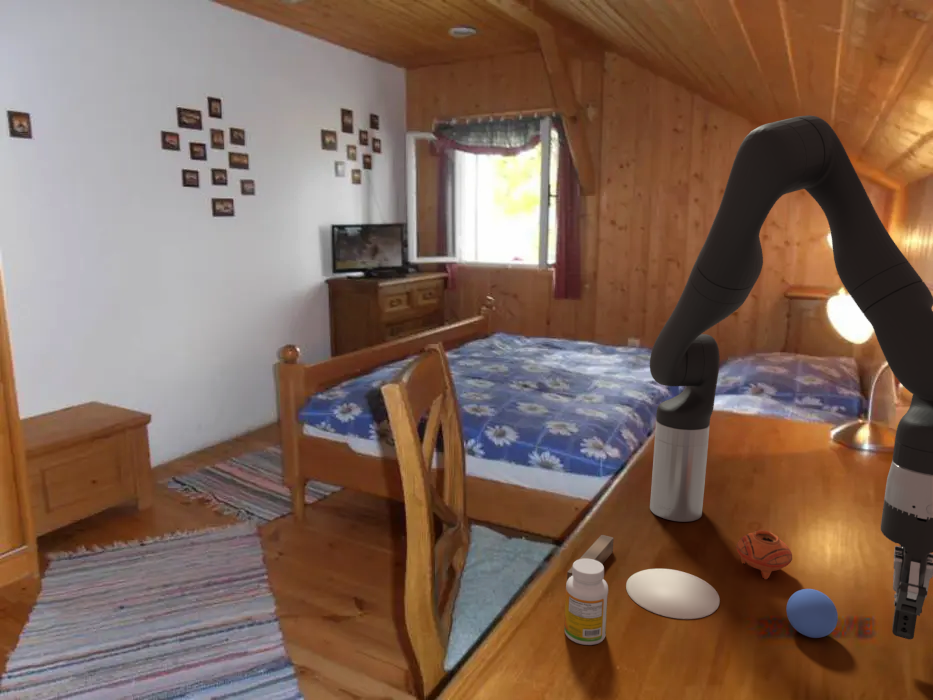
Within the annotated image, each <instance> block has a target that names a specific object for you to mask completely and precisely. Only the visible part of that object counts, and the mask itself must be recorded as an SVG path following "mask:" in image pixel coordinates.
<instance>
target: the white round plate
mask: <svg viewBox="0 0 933 700" xmlns="http://www.w3.org/2000/svg"><path fill="white" fill-rule="evenodd" d="M625 587H626V588H625V589H626V592H627V593H626V594H627V595H628V596H629V598H630V599H631V600H632V601H633V602H634V603H636V604H637V606H639V607H641V608H643V609H645V610H647V611H648V612H651V613H654V614H656V615H659V616H662V617H666V618H669V619H670V618H672V619H676V620H677V619H678V620H694V619H696V620H697V619H701V618H705V617H708V616H710V615H712V614H714V613H715V612H716V610H717V609H718V608H719V606H720V602H721V601H720V600H721V599H720V595H719V593H718V591H716V589H715V588H714V587H713V586H712V585H711V584H710V583H708V582H707V581H705V580H704V579H702V578H700V577H698V576H696V575H693V574H690V573H688V572H684V571H681V570H677V569H671V568H648V569H643V570H640V571H637V572H635V573H633V574H632V575H631V576H629V578H628V579H627V580H626V584H625Z"/></svg>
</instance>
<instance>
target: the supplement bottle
mask: <svg viewBox="0 0 933 700" xmlns="http://www.w3.org/2000/svg"><path fill="white" fill-rule="evenodd" d="M572 566H573V568H572V576H571V577H570V578H569V579H568V580H567V579H566V584H565V585H566V586H565V605H564V606H565V607H564V608H565V609H564V626H563V627H564V634H565V635H566V637H567V638H568V639H569V640H571V641H572V642H573V643H576V644H578V645H585V646H592V645H597V644H600V643H602V642H603V640H605V637H606V635H607V622H608V621H607V620H608V605H609V604H608V603H609V601H608V599H609V585H608V582H607V581H606V580H605V579H604V577H605V567H604V565H603V564H601V563H600V562H599V561H596V560H593V559H580V558H578V559H576V560H575V561H574V562H573V563H572Z"/></svg>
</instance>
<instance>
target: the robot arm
mask: <svg viewBox="0 0 933 700" xmlns="http://www.w3.org/2000/svg"><path fill="white" fill-rule="evenodd" d="M801 190H805V191H806V192H807V193H808V194H809V195H810V196H811V197H812V198H813V199H814V201H815V202H816V203H817V204H818V205H819V207H820V208H821V210H822V212H823V213H824V215H825V218H826V220H827V222H828V225H829V226H828V227H829V229H830V235H831V243H832V254H833V261H834V266H835V268H836V272H837V275H838V277H839V280H840V281H841V283H842V285H843V287H844V288H845V290H846V291H847V293H848V294H849V296H850V297H851V298H852V300H853V301H854V303H855V304H856V306H857V307H858V308H859V310H860V311H861V313H862V314H863V315H864V317H865V318H866V320H867V321H868V323H870V324H871V327H872V328H873V331H874V334H875V337H876V340H877V342H878V345H879V347H880V349H881V351H882V353H883V356H884V359H885V360H886V362H887V365H888V366H889V368H890V370H891V372H892V374H893V375H894V377H895V378H896V380H897V381H898V382H899V383H900V384H901V386H903V387H904V388H905V389H906V390H907V391H908V392H910V393H911V394H912V395H911V396H912V397H911V401H910V406H909V407H908V410H907V411H906V413H904V415H903V416H902V418H900V419H899V422H898V425H897V426H896V430H895V431H896V432H895V437H894V439H895V440H894V446H893V452H892V459H891V460H892V461H891V464H890V468H889V472H888V473H887V474H888V475H887V478H886V485H885V491H884V499H883V507H882V513H881V514H882V516H881V522H880V531H881V533H882V535H883V536H884V537H886V538H887V539H888V540H889V541H891V542H893V543H895V544H898V545H895V546H894V550H893V551H894V552H893V576H892V577H893V583H892V590H893V591H894V592H895V593H894V595H893V598H894V600H893V605H894V613H893V619H892V629H891V630H892V634H893V635H894V636H896V637H898V638H903V639H905V640H913V639H914V638H915V633H916V632H915V631H916V625H917V616H918V617H920V616H921V614H922V613H923V606H924V603H925V599H926V598H927V597H928V592H929V591H928V590H929V586H930V580H931V579H932V578H933V309H932V307H933V295H932V292H931V290H930V289H929V287H928V286H927V284H926V283H925V282H924V281H923V278H921V276H920V275H919V273H918V272H917V271H916V270H915V268H914V266H913V265H912V264H911V263H910V262H909V260H908V259H907V258H906V257H905V255H904V253H902V251H901V250H900V248H899V247H898V245H897V244H896V242H894V240H893V238H892V237H891V235H890V234H889V232H888V230H887V229H886V227H885V226H884V224H883V222H882V221H881V218H880V217H879V215H878V213H877V211H876V209H875V207H874V205H873V204H872V201H871V199H870V197H869V196H868V193H867V190H866V189H865V187H864V185H863V183H862V181H861V179H860V177H859V175H858V174H857V172H856V169H855V167H854V165H853V163H852V162H851V159H850V156H849V155H848V153H847V150H846V149H845V147H844V145H843V144H842V141H841V140H840V137H839V136H838V135H837V133H836V132H835V130H834V129H833V127H832V126H831V125H830V124H829V123H828V122H827V121H825V119H823V118H820V117H819V116H816V115H800V116H794V117H791V118H786V119H781V120H777V121H772V122H769V123H765V124H762V125H760V126H758V127H756V128H755V129H753V130H751V131H750V132H749V133H748V134H747V135H746V136H745V137H744V138H743V141H742V142H741V143H740V145H739V147H738V150H737V151H736V155H735V157H734V160H733V164H732V166H731V170H730V173H729V175H728V179H727V183H726V186H725V190H724V192H723V195H722V198H721V201H720V204H719V208H718V210H717V212H716V215H715V217H714V220H713V222H712V225H711V227H710V230H709V233H708V235H707V236H706V238H705V241H704V243H703V245H702V247H701V250H700V252H699V254H698V255H697V258H696V260H695V262H694V264H693V267H692V269H691V271H690V274H689V275H688V276H689V277H688V279H687V281H686V284H685V286H684V288H683V291H682V293H681V295H680V297H679V299H678V301H677V302H676V306H675V307H674V309H673V311H672V312H671V315H670V316H669V318H668V319H667V321H666V322H665V324H664V325H663V327H662V329H661V330H660V332H659V334H658V336H657V338H656V339H655V341H654V344H653V347H652V349H651V352H650V353H651V354H650V357H649V371H650V374H651V377H652V379H653V380H654V381H655V382H656V383H657V384H659V385H661V386H664V387H665V386H666V387H685V388H684V389H683V391H681V392H680V393H679V394H677V395H676V396H674V397H671V398H669V399H666V400H664V401H662V402H660V403H659V404H658V406H657V408H656V415H655V417H656V418H655V431H654V446H653V460H652V461H653V462H652V473H651V474H652V475H651V488H650V490H651V491H650V501H649V509H650V511H651V512H652V513H653V514H654V515H655V516H657V517H659V518H663V519H665V520H669V521H673V522H681V523H682V522H684V523H685V522H686V523H687V522H695V521H697V520H699V519H701V517H702V516H703V505H704V504H703V503H704V495H705V494H704V493H705V482H706V474H707V473H706V471H707V459H708V449H709V437H710V436H709V435H710V423H711V416H712V414H713V411H714V407H715V398H716V392H717V391H716V390H717V383H718V378H719V370H720V349H719V345H718V343H717V341H716V339H715V338H714V337H713V336H712V335H709V334H707V333H705V332H706V331H708V330H709V329H711V328H712V327H714V326H715V325H717V324H719V323H720V322H721V321H723V320H725V319H727V318H728V317H729V316H731V315H732V314H734V313H735V312H736V311H737V310H738V309H739V308H741V307H742V306H743V304H745V302H746V300H747V299H748V297H749V295H750V293H751V292H752V290H753V288H754V286H755V285H756V282H758V279H759V277H760V275H761V272H762V269H763V265H764V257H763V256H764V255H763V247H762V244H761V240H760V239H761V238H760V234H761V230H762V227H763V225H764V223H765V222H766V220H767V217H768V215H769V214H770V212H771V210H772V208H773V207H774V206H775V204H776V203H777V201H778V200H780V198H781V197H782V196H784V195H786V194H787V195H788V194H790V193H793V192H797V191H798V192H799V191H801ZM704 333H705V334H704Z"/></svg>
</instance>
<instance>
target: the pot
mask: <svg viewBox="0 0 933 700" xmlns="http://www.w3.org/2000/svg"><path fill="white" fill-rule="evenodd" d="M736 551H737V554H738V555H739V556H740V560H741V562H742V564H743V563H744V564H743V565H746V563H747V564H748V565H749V566H751V567H752V568H754V569H757V570H759V571H760V575H761V577H762V579H763V578H764V580H768V578H770V576H771V574H772V572H774V571H779V570H782V569H783V568H785V567H787V566H789V565H790V564H791V563H792V562H793V561H792V560H793V553H792V550H791V548H789V546H788V544H787V543H785V542H784V541H783V540H781V539H780V537H779V536H778V535H776V534H775V533H772V532H771V531H769V530H765V529H758V530H757V529H756V530H755V531H754V532H750V533H747V534H745V535H743V536H742V537H741V538H739V540H738V541H737V542H736Z"/></svg>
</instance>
